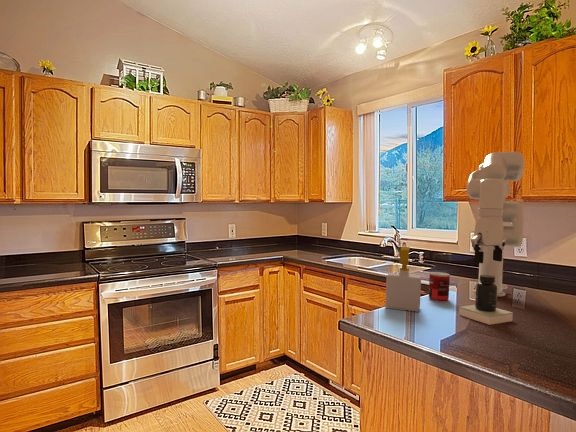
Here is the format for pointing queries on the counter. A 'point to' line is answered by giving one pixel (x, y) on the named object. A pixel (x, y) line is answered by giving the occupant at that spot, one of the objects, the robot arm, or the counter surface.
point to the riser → (486, 315)
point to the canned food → (439, 286)
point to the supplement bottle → (486, 294)
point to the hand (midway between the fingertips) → (488, 261)
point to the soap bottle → (403, 287)
